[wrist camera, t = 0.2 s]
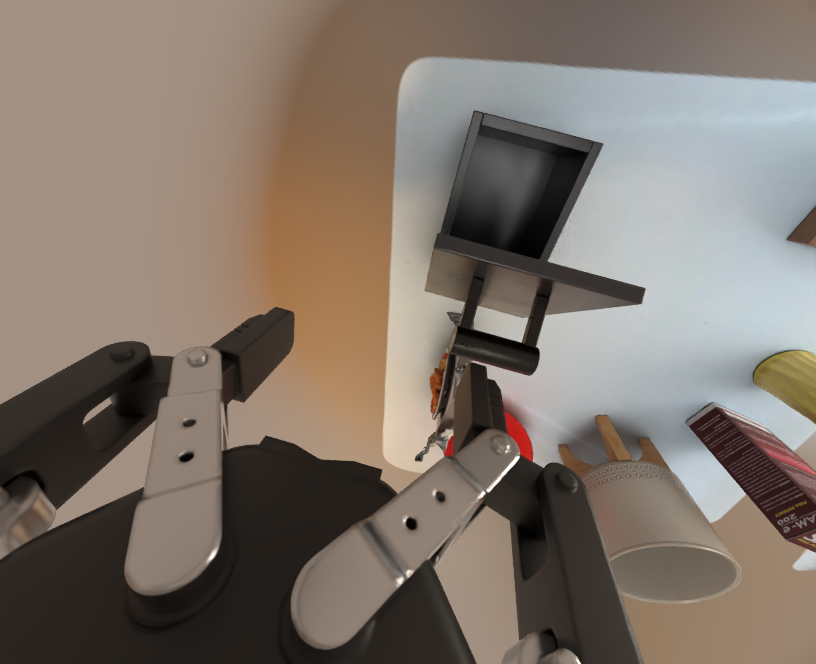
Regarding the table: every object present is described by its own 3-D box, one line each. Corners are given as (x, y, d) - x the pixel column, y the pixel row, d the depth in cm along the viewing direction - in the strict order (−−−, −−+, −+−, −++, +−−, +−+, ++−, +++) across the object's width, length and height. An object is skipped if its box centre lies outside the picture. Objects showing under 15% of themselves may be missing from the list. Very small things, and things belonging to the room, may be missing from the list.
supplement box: (682, 422, 43) (783, 541, 30) (711, 400, 41) (837, 519, 27) (732, 444, 44) (855, 571, 30) (764, 424, 41) (914, 552, 28)
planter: (554, 420, 47) (600, 544, 31) (650, 410, 43) (754, 545, 28) (561, 473, 52) (602, 600, 37) (646, 468, 49) (731, 607, 33)
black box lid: (437, 231, 14) (406, 345, 14) (647, 288, 14) (614, 403, 14) (426, 283, 30) (411, 337, 30) (525, 310, 29) (509, 364, 29)
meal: (443, 310, 41) (436, 366, 29) (474, 316, 40) (479, 375, 29) (424, 392, 48) (413, 461, 37) (450, 397, 48) (447, 469, 37)
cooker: (471, 123, 30) (473, 110, 22) (568, 148, 30) (604, 143, 22) (433, 261, 37) (425, 285, 30) (510, 282, 37) (523, 312, 30)
